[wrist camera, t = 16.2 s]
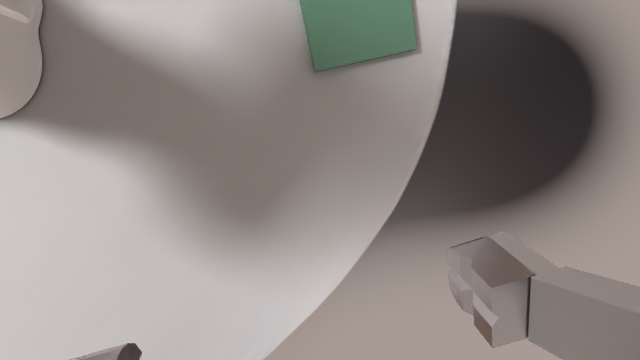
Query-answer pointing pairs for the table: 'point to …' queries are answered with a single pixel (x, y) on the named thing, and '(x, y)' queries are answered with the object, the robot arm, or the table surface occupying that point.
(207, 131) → the table surface
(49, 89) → the table surface
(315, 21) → the board
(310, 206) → the table surface
